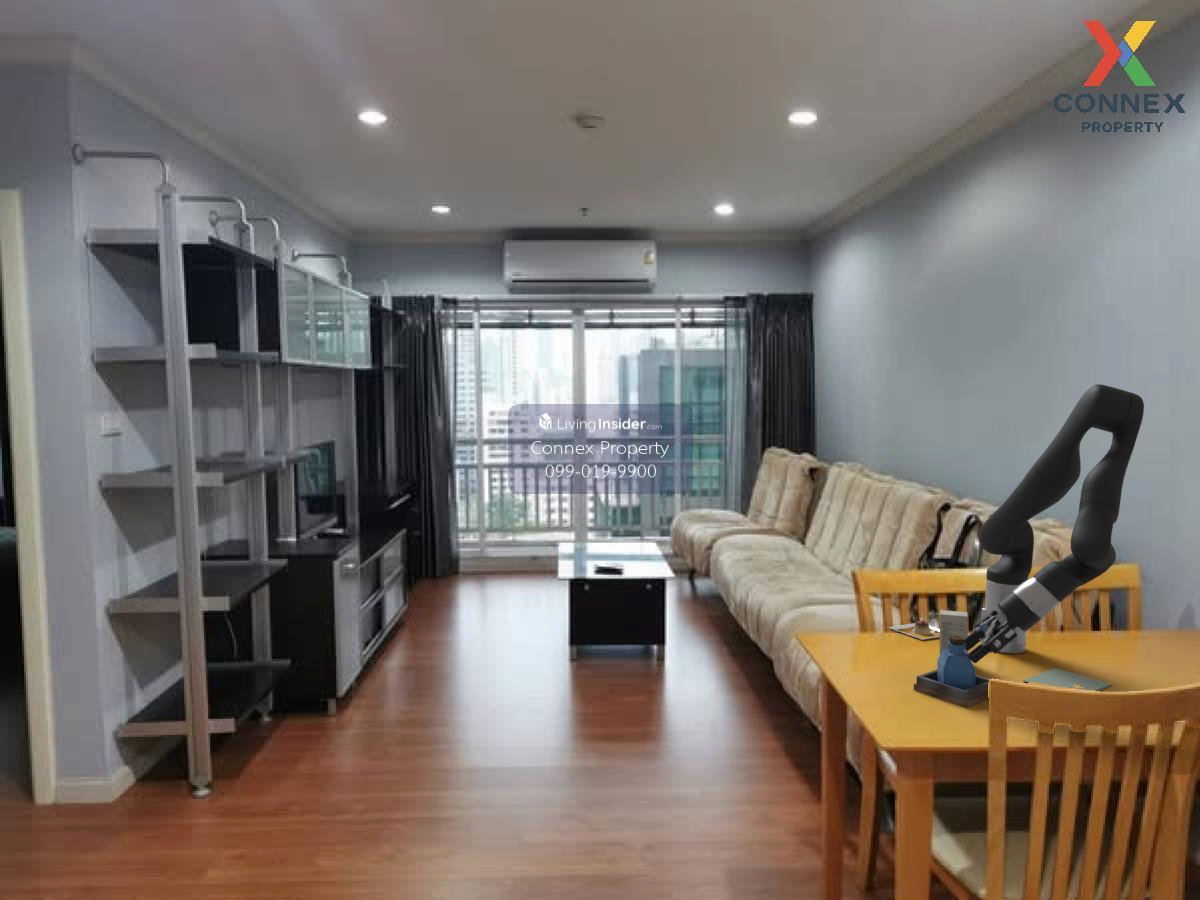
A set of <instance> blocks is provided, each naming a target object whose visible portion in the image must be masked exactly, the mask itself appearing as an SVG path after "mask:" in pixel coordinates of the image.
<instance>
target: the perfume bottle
mask: <svg viewBox="0 0 1200 900" xmlns="http://www.w3.org/2000/svg"><path fill="white" fill-rule="evenodd" d="M949 640H950V641H949V642H948V647H949V650H946V649H944V651H943V652H942V653H941V655H940V654H939V656H938V657H937V663H936V664H937V665H936V667H937V669H936V670H937V681H938V682H941V683H944V684H947V685H950V686H953V687H956V688H959V689H962V690H966V689H968V688H971V687H974V686H975V675H976V672H977V671H976V668H975V666H974V664H973V662H972V661H971V660H970V659H969V658H968V656H967V653H966V652H965V651H964V649H965V648H966V644H965V643H964V641H965V638H964V637H962V636H956V635H952V636H949Z"/></svg>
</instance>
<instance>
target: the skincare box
mask: <svg viewBox="0 0 1200 900" xmlns="http://www.w3.org/2000/svg"><path fill="white" fill-rule="evenodd" d="M939 628H940V632H939V636H940V637H939V656H940V655H941V653H942V652H943V651H944V649H946V650H949V647H948V642H949V641H950V640H949V636H952V635H956V636H962V637H964V638H966V637H967V636H969V612H967V611H959V610H958V611H954V610H945V609H944V610H943V609H940V610H939ZM964 651H965V652H966V653H967V655H968V653H969V650H968V651H967V650H966V649H964Z"/></svg>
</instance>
